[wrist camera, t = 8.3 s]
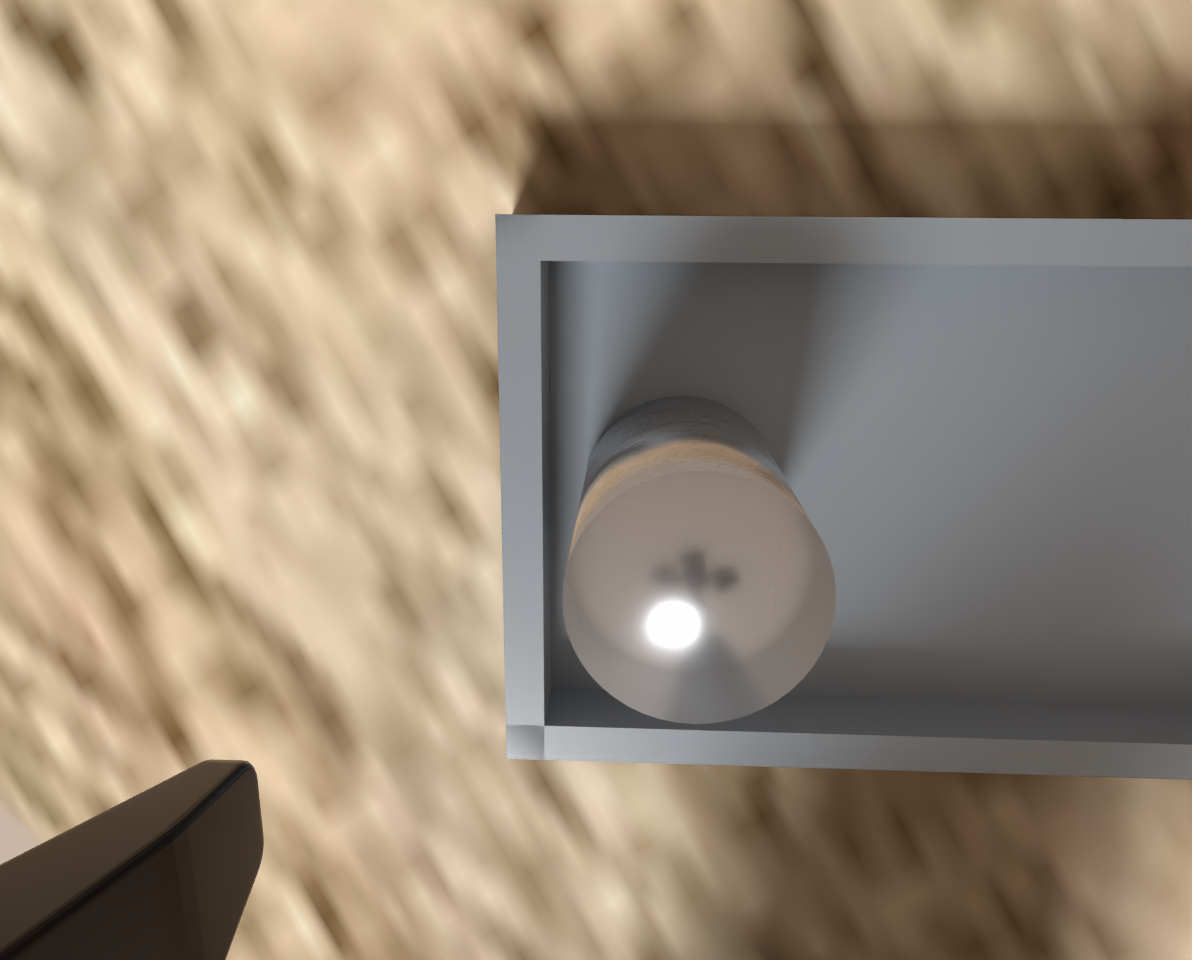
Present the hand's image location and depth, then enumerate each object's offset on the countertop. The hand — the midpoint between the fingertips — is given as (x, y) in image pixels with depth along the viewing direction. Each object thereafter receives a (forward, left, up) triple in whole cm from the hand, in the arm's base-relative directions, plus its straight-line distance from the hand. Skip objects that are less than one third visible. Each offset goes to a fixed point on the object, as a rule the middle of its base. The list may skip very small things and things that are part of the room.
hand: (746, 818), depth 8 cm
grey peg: (0, 0, -11) cm, 11 cm away
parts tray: (0, -5, -12) cm, 13 cm away
